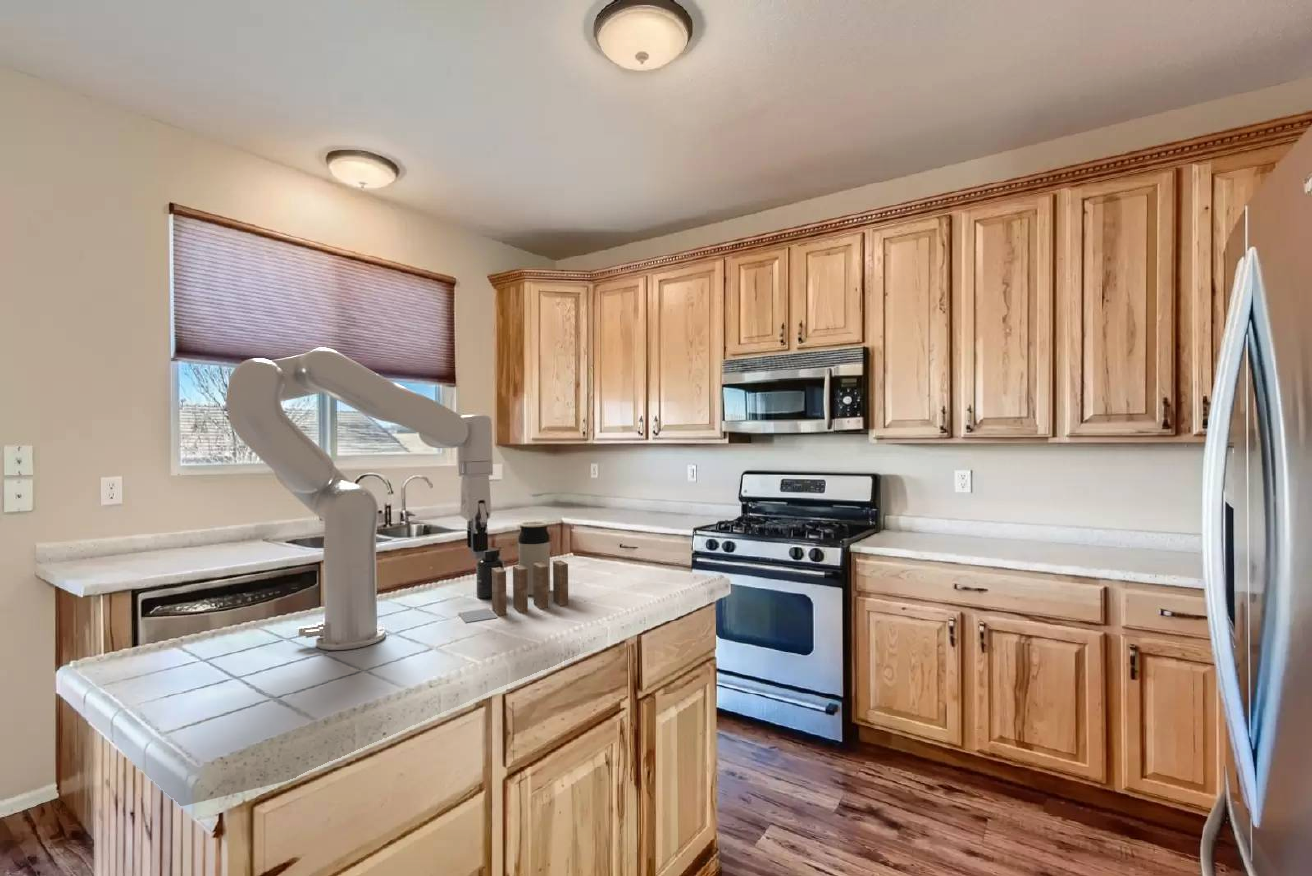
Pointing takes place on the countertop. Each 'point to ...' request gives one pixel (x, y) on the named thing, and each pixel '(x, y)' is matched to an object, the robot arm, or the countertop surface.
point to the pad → (477, 615)
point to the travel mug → (534, 548)
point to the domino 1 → (475, 554)
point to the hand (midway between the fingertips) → (477, 548)
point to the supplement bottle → (487, 572)
